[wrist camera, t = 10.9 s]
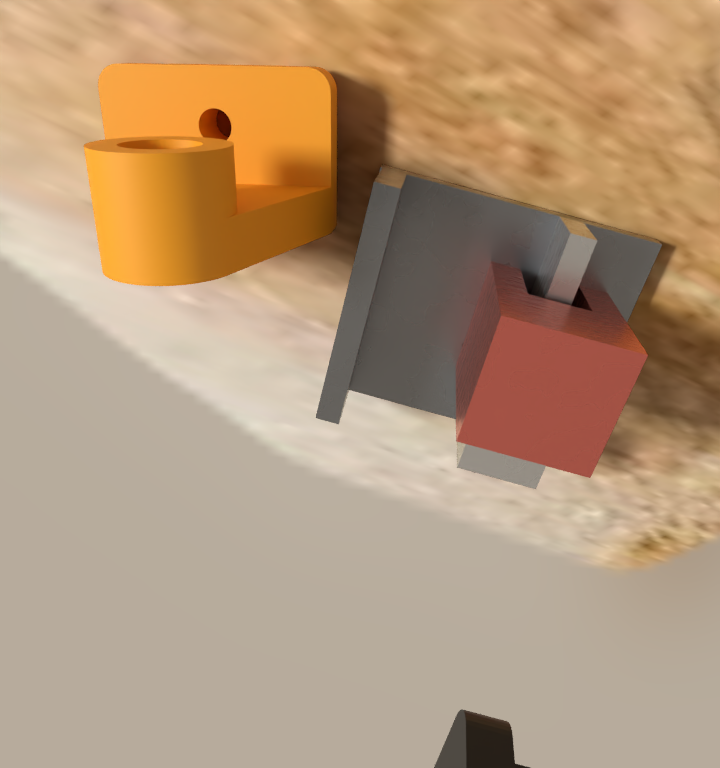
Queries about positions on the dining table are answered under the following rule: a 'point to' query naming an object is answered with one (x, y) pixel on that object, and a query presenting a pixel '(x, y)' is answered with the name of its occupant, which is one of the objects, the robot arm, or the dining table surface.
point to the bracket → (210, 168)
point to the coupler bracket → (458, 291)
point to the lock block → (544, 373)
